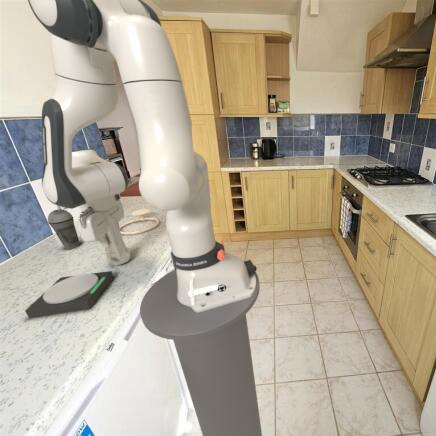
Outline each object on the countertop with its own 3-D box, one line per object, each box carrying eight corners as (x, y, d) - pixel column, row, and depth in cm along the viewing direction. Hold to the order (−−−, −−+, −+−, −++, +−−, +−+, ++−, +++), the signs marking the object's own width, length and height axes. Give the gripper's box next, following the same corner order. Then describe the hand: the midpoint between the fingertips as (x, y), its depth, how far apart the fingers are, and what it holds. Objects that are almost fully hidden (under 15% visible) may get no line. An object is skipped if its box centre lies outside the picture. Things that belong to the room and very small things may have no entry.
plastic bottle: (115, 258, 88) (94, 207, 80) (135, 256, 88) (116, 204, 80) (106, 268, 82) (82, 214, 74) (127, 265, 83) (106, 211, 75)
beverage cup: (59, 246, 97) (37, 199, 89) (82, 240, 102) (63, 194, 94) (61, 253, 92) (38, 203, 84) (85, 245, 97) (65, 198, 89)
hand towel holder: (109, 228, 101) (123, 211, 119) (112, 238, 103) (125, 219, 121) (153, 222, 106) (161, 206, 124) (156, 231, 107) (163, 214, 125)
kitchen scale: (114, 277, 77) (110, 268, 76) (90, 308, 65) (85, 299, 63) (63, 284, 75) (59, 275, 74) (29, 318, 62) (23, 308, 61)
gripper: (90, 213, 67) (107, 255, 73) (121, 192, 86) (133, 227, 91) (64, 215, 66) (83, 258, 72) (101, 193, 85) (114, 229, 90)
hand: (111, 241), depth 82 cm, fingers closed on plastic bottle, 5 cm apart
